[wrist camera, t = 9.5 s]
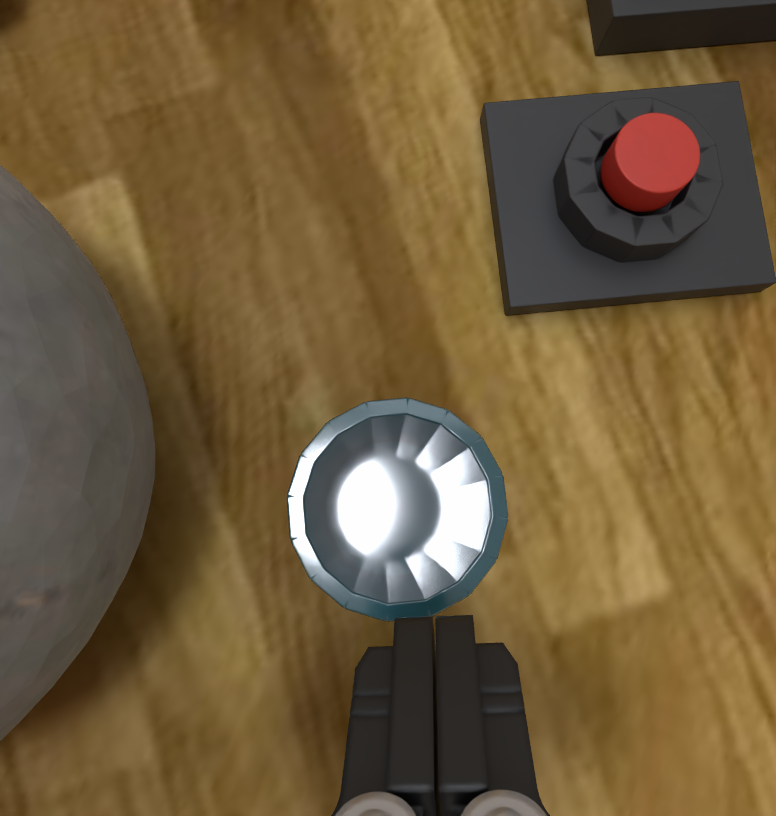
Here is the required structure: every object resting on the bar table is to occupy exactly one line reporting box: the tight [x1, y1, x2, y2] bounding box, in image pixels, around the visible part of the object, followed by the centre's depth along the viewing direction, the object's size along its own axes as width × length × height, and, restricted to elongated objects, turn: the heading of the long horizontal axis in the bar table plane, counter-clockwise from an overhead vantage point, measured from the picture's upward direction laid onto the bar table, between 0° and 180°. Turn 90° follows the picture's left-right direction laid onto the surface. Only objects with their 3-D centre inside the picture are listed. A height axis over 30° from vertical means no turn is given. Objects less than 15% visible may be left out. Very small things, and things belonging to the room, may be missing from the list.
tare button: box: [601, 113, 700, 212], centre depth 26 cm, size 3×3×2 cm
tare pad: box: [480, 81, 776, 315], centre depth 28 cm, size 11×9×3 cm
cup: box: [287, 398, 508, 622], centre depth 24 cm, size 6×6×8 cm
